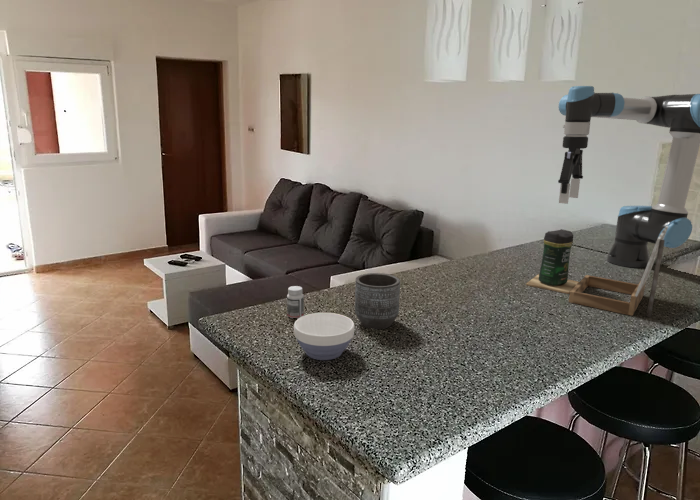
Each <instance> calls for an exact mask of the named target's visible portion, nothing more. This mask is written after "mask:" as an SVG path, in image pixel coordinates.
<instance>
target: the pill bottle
mask: <svg viewBox="0 0 700 500" xmlns="http://www.w3.org/2000/svg"><path fill="white" fill-rule="evenodd" d="M304 301H305V297H304V294H303V287H302V286H300V285H299V286H298V285H292V286H289V287H288V289H287V295H286V314H287V317H288V318H289V317H290V319H293V318H297V319H299V318H300V317H302V316H305V306H304V305H305V303H304Z"/></svg>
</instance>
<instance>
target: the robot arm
mask: <svg viewBox="0 0 700 500" xmlns="http://www.w3.org/2000/svg"><path fill="white" fill-rule="evenodd" d="M558 111H559V113H560V114H561V115H562V116H565V118H564V119H565V120H564V121H565V122H564V124H563V125H562V128H563V129H564V130H563V134H564V136H563V138H562V148H563V149H568V151H565V152H564V158H563V163H562V167H561V172H560V176H559V179H558V184H560V189H559V198H558V204H564V205H565V204H567V205H568V204H569V198H571V199H578V198H579V190H580V184H581V180H582V179H583V178H584V176H583V154H584V153H583V152H584V150H583V149H586V148H588V144H589V137H588V135H590V127H591V119H592V118H597V119H599V118H600V119H601V118H602V119H611V120H612V119H613V120H614V119H616V120H629V121H636V122H637V123H639V124H646V125H653V126H657V127H660V128H661V127H662V128H663V127H664V128H669V130H668V131H669V134H670V135H671V136H672V140H671V145H670V149H669V153H668V157H667V162H666V165H665V171H664V175H663V179H662V183H661V187H660V191H659V196H658V200H657V202H656V204H654V205H652V206H651V205H624V206H621V207H620V208H619V210H618V211H619V212H618V215H617V221H616V228H615V237H614V241H613V244H612V245H611V248H610V249H609V251H608V252H607V257H606V260H607V262H609V263H611V264H613V265H616V266H617V265H618V266H622V267H626V268H627V267H628V268H639V269H640V268H646V266H647V264H648V261H649V259H650V253H649V249H648V244H649V243H650V244H654V245H655V244H656V241H657V239H658V237H659V236H660V234H661V233H662V231H663V230H664V229H665V227H666V226H668V229H667V231H666V234H665V236H664V239H663V240H665V242H664V247H663V248H670V249H676V248H679V247H680V246H683V244H685V243H686V242H687V241H688V239H690V236H691V234H692V232H693V224H692V221H691V219H689V217H688V215H689V211H688V210H687V209H686V207H685V206H686V203H687V198H688V195H689V191H690V186H691V182H692V178H693V173H694V170H695V166H696V162H697V159H698V155H699V151H700V93H692V94H691V93H690V94H666V95H661V96H659V95H658V96H644V97H642V98H635V97H624V96H623V95H622V94H621V93H619V92H617V93H615V92H595V88H594V86H592V85H574V86H571V87H569V89H568V94H565V95H563V96H562V97H561V98H560V99H559V102H558Z"/></svg>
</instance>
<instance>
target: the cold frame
mask: <svg viewBox="0 0 700 500" xmlns="http://www.w3.org/2000/svg"><path fill="white" fill-rule="evenodd" d="M667 229H668V226H666V227H665V229H664V230H663V231H662V233H661V234H660V236H659V237H658V239H657V241H656V244H654V246H653V249H652V252H651V254H650V255H649V258H650V259H649V261H648V264H647V266H646V267H645V270H644V272H643V274H642V276H641V279H640V281H639V283H633V282H627V281H621V280H617V279H610V278H606V277H605V278H604V277H600V276H596V275H595V276H593V275H589V274H586V275H584V277H583V278H582V279H581V280H580V281H578V282H579V283H578V284H577V285H576V286H575V287H574V288H573V289H572V290H571V291H570V293H569V296H568V303H571V304H575V305H576V304H577V305H581V306H584V307H585V306H586V307H591V308H594V309H599V310H603V311H609V312H613V313H618V314H622V315H627V316H633V315H634V314H635V312H636V310H637V308H638V306H639V304H640V303H641V301H642V299H643V297H644V293H645V289H646V285H647V283H646V282H647V280H648V279H649V276H650V273H651V271H652V268H653V266H654V271H653V276H652V282H651V288H650V293H649V297H648V298H649V299H648V305H647V310H646V316H647V317H652V314H653V313H652V311H653V306H654V302H655V295H656V291H657V286H658V285H657V284H658V280H659V275H660V274H659V273H660V268H661V264H662V257H663V252H664V248H665V247H664V242H665V240H663V239H664V236H665V234H666V231H667ZM654 264H655V265H654ZM588 287H590V288H596V289H602V290H606V291H611V292H617V293H621V294H627V295H631V296H630V301H629V302H628V301H625V300H619V299H614V298H610V297H605V296H600V295H595V294H589V293H584V291H585V290H586V289H587V288H588Z"/></svg>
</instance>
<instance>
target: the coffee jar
mask: <svg viewBox="0 0 700 500" xmlns="http://www.w3.org/2000/svg"><path fill="white" fill-rule="evenodd" d="M573 243H574V233H573V232H572V231H570V230H566V229H563V228H560V229H556V230H548V231H547V232H545V233H544V237H543V253H542V258H541V263H540V269H539V273H538V274H539V281H540V282H542V283H543V284H546V285H554V286H557V285H562V284H565V283H566V282H567V280H569V279H568V277H569V269H570V267H569V265H570V256H571V249H572V245H573Z"/></svg>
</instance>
